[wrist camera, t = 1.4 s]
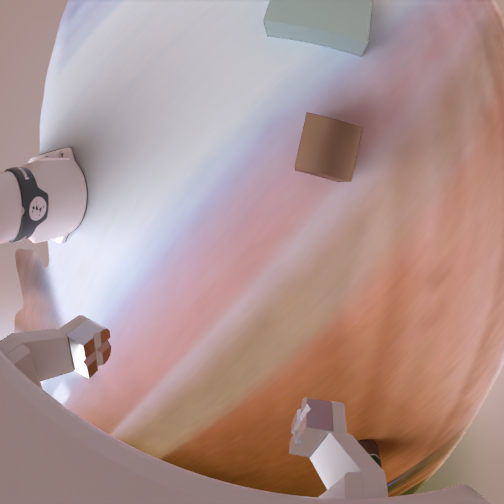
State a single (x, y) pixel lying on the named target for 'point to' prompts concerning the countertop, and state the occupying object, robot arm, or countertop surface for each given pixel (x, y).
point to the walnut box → (328, 148)
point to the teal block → (321, 22)
